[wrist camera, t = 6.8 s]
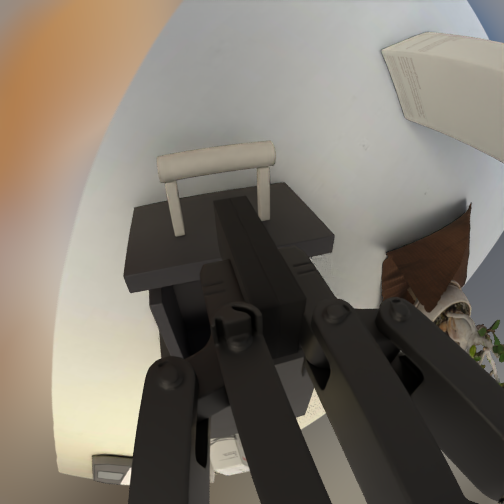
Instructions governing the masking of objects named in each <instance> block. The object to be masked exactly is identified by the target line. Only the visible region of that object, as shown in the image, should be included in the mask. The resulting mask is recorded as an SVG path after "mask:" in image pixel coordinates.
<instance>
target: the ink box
mask: <svg viewBox="0 0 504 504" xmlns="http://www.w3.org/2000/svg"><path fill="white" fill-rule="evenodd" d="M210 460H211V463H212V467H213V470H214V471H216V472H219V473H222V474H224V475H227V476H228V475H233V474H238V473H242V472H247V471H250V470H249V466H248V463H247V460H246V457H245V454H244V451H243V447H242V444H241V441H240V437H239V434H233V435H229V436H224V437H219V438H214V439H210Z"/></svg>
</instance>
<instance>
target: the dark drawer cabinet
mask: <svg viewBox="0 0 504 504" xmlns="http://www.w3.org/2000/svg"><path fill="white" fill-rule="evenodd" d="M159 335H160V348H161V358H163V357H168V356H171V355H170V353H169V351H168V348H167V346H166V344H165V342H164V339H163V337H162V335H161V333H160V330H159ZM304 356H305V354H304V352H303V350H302V349H301V350H298V353H295V354H291V355H288V356H284V357H281V358H277V359H273V362H274V365H275V367H276V370H277V372H278V375H279V377H280V380H281V382H282V385H283V387H284V390H285V392H286V395H287V397H288V400H289V402H290V405H291V407H292V410H293V412H294V415H295V417H299V416H302V415H305V413H306V410H307V407H308V404H309V401H310V398H311V395H312V393H313V390H314V386H313V383H312V381H311V379H310V377H309V375H308V373H307V371H306V375H305V376H304V377H302V373H301V369H302V365H303V360H304ZM233 434H238V431H237V427H236V424H235V420H234V417H233V413H232V410H231V406H229V407H227V408H225V409H223V410H222V411H220V412H218V413H216V414H215V415H213V416H211V438H210V439H214V438H219V437H224V436H229V435H233Z"/></svg>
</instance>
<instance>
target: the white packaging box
mask: <svg viewBox="0 0 504 504" xmlns="http://www.w3.org/2000/svg"><path fill="white" fill-rule="evenodd" d="M381 51H382V54H383V57H384V59H385V62H386V64H387V67H388V69H389V72H390V75H391V78H392V80H393V83H394V86H395V89H396V92H397V95H398V98H399V101H400V104H401V107H402V110H403V113H404V116H405V118H406V119H407V120H410V121H413V122H415V123H418V124H421V125H423V126H426V127H428V128H431V129H434V130H436V131H438V132H441V133H443V134H446V135H448V136H450V137H452V138H455V139H457V140H459V141H461V142H463V143H466V144H468V145H470V146H472V147H474V148H476V149H478V150H480V151H482V152H484V153H486V154H488V155H489V156H491V157H493V158H495V159H497V160H499V161H500V162H502V163H504V43H500V42H495V41H490V40H485V39H480V38H474V37H468V36H460V35H452V34H443V33H433V32H426V33H423V34H419V35H417V36H414V37H411V38H409V39H406V40H404V41H401V42H399V43H396V44H394V45H392V46H389V47H387V48H385V49H382V50H381Z"/></svg>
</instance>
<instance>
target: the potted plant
mask: <svg viewBox="0 0 504 504" xmlns="http://www.w3.org/2000/svg"><path fill="white" fill-rule="evenodd" d="M471 204H472V203H471ZM471 204H470V205H469V208H468V210H467V211H466V212H465V213H464V214H463V215H462V216H461V217H460V218H458V219H457V220H456V221H454V222H452V223H451V224H449V225H447V226H446V227H444V228H442V229H440V230H438V231H437V232H434V233H433V234H431V235H429V236H427V237H425V238H422V239H420V240H418V241H416V242H413V243H411V244H408V245H406V246H403V247H401V248H399V249H396V250H394V251H390V252H387V254H386V255H388V258H387V259H385V261H384V262H383V268H382V282H383V283H382V296H383V298H384V300H385V299H387V298H390V297H399V298H403V299H405V300H407V301H409V302H410V303H412V304H413V305H414V306H415V307H416V308H417V309H419V310H420V311H421V312H422V313H423V314H424V315H426V316H427V317H428V318H429V319H430V320H431V321H432V322H434V323H435V324H436V325H437V326H438V327H439V328H440V329H442V330H443V331H444V332H445V333H446V334H447V335H448V336H449V337H450V338H452V339H453V340H454V341H455V342H456V343H457V344H458V345H459V346H460V347H461V348H462V349H463V350H465V351H466V349H467V351H466V352H467V353H468V354H469V355H470V356H471V357H472V358H473V359H474V360H475V361H476V362H477V361H479V363H478V364H479V365H480V366H481V367H482V368H483V369H484V368H485V365H481V363H482V361H483V358H484V356H485V355H487V356H486V357H487V360H489V362H490V363H491V365H492V369H493V370H492V371H491V372H490V375H491V376H492V374H494V377H495V378H496V381H497V382H498V383H499V384H500V385H501V386H502V388H503V389H504V383H500V380H499V378H498V375H497V371H496V367H495V363H494V361H493V359H492V357H491V354H490V350H491V351H492V352H493V353H494V355H495V356H496V357H497V358H499V357H500V358H499V361H500V362H504V345H502V344H500V341H499V339H498V338H497V337H496V335H495V334H494V332H495V329H497V328H498V326H499V322H500V320H497V321H495V323H494V324H493V325H492V326H491V327H490V328H489V329H487V328H486V327H485V326H483V325H484V324H482V325H477V326H476V325H475V323H474V321H473V320H472V319H471V318H470V315H471V305H470V303H469V301H468V299H467V297H466V296H465V294H464V293H463V292H462V289H461V288H462V287H463V286H464V284H465V281H466V278H467V265H468V258H469V243H470V214H471ZM384 300H382V301H384ZM489 332H492V333H493V335H494V340H495V342H494V345H493V344H492V340H491V339H490V336H489V335H488V334H487V333H489ZM459 342H460V343H459ZM480 344H481V345H483V346H484V347H483V351H482V350H481V351H480V352H478V353H476V347H475V346H476V345H480Z"/></svg>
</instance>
